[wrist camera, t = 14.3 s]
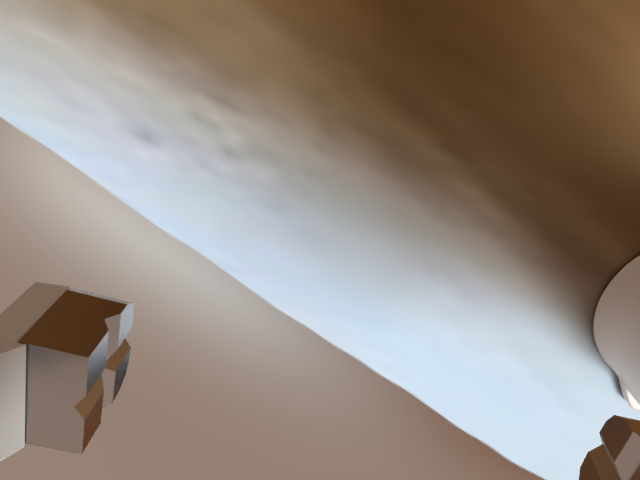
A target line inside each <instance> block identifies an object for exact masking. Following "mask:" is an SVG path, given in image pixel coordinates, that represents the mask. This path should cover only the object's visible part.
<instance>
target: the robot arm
mask: <svg viewBox="0 0 640 480" xmlns="http://www.w3.org/2000/svg"><path fill="white" fill-rule="evenodd" d="M133 317H134V307H133V304H132V303H131V302H126V301H123V300H119V299H115V298H111V297H107V296H103V295H99V294H95V293H91V292H87V291H83V290H79V289H75V288H70V287H67V286H63V285H58V284H54V283H50V282H45V281H40V282H36V283H34V284H33V285H32V286H31V287H30V288H29V289H28V290H26V291H25V292H24V293H23V294H22V295H21V296H20V297H19V298H18V299H17V300H16V301H15V302H14V303H12V304H11V305H10V306H9V307H8V308H7V309H6V310H5V311H4V312H3V313H1V314H0V461H2V460H3V459H5V458H7V457H8V456H10V455H12V454H13V453H15V452H17V451H18V450H20V449H21V448H23V447H24V446H25V444H31V445H36V446H41V447H46V448H52V449H57V450H62V451H67V452H72V453H77V454H82V453H83V452H84V450H85V448H86V447H87V445H88V443H89V442H90V440H91V438H92V437H93V435H94V433H95V432H96V430H97V428H98V427H99V425H100V423H101V416H102V408H104V407H106V406H108V405H109V404H112V403H113V401H114V400H115V398H116V396H117V394H118V392H119V390H120V388H121V385H122V383H123V380H124V378H125V375H126V371H127V367H128V363H129V357H130V349H131V348H130V346H129V344H128V343H127V341H126V339H125V337H126V335H127V334H128V332H129V331H130V329H131V328H132V326H133ZM593 331H594V339H595V343H596V346H597V348H598V351H599V353H600V355H601V356H602V358H603V359H604V361H605V362H606V363H607V364H608V365H609V366H610V368H611V369H612V370H613V371H614V372H615V373H616V375H617V376H618V378H619V382H620V387H621V392H622V395H623V397H624V399H625V400H626V402H627V403H628V404H629V405H630V406H631V407H632V408H633V409H635V410H638V411H640V255H639V256H638V257H636V258H635V259H634V260H632V261H631V262H630V263H628V264H627V265H626V266H625V267H624V268H623V269H622V270H621V271H620V272H619V273H618V274H617V275H616V276H615V277H614V278H613V279H612V280H611V282H610V283H609V284H608V286H607V287H606V289H605V290H604V292H603V294H602V296H601V298H600V300H599V302H598V305H597V308H596V311H595V316H594V323H593ZM599 433H600V437H601V440H602V445H600V446H599V447H597V448H595V449H593V450H591V451H589V452H588V453H587V455H586V457H585V459H584V461H583V463H582V465H581V467H580V475H579V480H640V421H639V420H634V419H630V418H625V417H621V416H616V415H614V416H613V417H611V418H610V419H609V420H607V421H606V422H605V424H604V426H603V427H602V429H601V431H600V432H599Z"/></svg>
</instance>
